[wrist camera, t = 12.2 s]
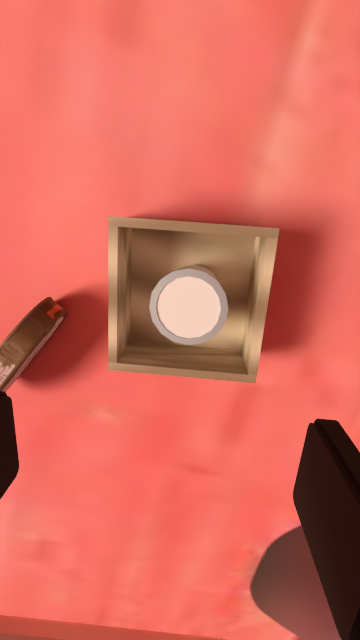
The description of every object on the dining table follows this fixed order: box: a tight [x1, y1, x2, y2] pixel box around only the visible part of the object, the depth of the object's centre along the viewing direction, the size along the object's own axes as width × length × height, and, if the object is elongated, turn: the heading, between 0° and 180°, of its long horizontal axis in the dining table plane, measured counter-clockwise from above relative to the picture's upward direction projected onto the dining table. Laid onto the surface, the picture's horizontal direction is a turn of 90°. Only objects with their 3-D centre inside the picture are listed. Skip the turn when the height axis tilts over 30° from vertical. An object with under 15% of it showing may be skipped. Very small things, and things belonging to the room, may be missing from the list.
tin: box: [0, 297, 67, 392], centre depth 34 cm, size 15×3×8 cm, turn 138°
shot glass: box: [149, 265, 228, 345], centre depth 30 cm, size 7×7×7 cm
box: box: [108, 216, 280, 383], centre depth 31 cm, size 14×14×7 cm
